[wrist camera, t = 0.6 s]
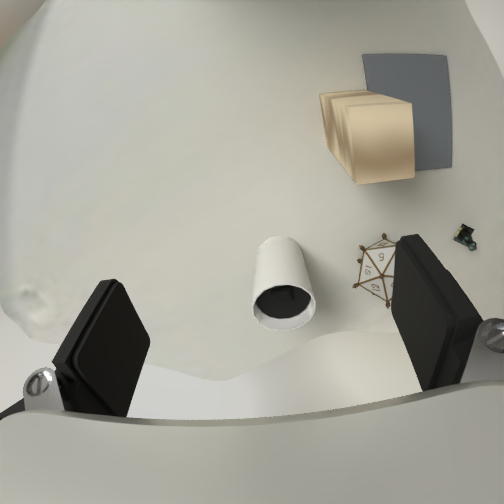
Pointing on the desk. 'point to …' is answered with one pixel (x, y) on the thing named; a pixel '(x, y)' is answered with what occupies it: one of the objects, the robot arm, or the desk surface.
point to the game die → (378, 269)
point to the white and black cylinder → (281, 286)
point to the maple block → (370, 135)
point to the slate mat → (418, 100)
